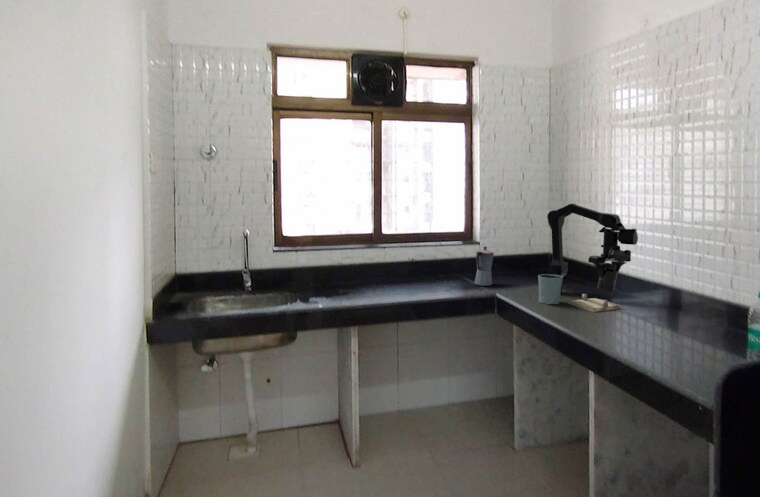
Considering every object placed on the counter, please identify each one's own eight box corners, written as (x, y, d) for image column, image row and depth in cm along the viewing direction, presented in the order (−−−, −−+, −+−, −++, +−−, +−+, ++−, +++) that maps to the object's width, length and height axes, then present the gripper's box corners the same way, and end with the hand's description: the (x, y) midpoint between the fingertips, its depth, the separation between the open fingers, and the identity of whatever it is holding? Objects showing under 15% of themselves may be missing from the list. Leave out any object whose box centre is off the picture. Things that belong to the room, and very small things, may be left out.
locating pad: (593, 311, 201) (593, 302, 201) (569, 304, 214) (570, 295, 214) (620, 308, 206) (620, 299, 205) (595, 301, 219) (595, 292, 218)
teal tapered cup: (532, 301, 220) (533, 274, 219) (550, 299, 224) (551, 273, 223) (548, 306, 211) (549, 278, 210) (566, 303, 215) (567, 276, 214)
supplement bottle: (615, 292, 215) (621, 265, 213) (598, 289, 216) (604, 263, 215) (611, 289, 222) (617, 263, 220) (595, 287, 223) (601, 261, 221)
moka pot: (497, 283, 261) (498, 245, 258) (487, 288, 248) (487, 249, 245) (480, 281, 266) (480, 244, 263) (469, 286, 253) (469, 248, 250)
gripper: (607, 246, 206) (605, 282, 208) (642, 244, 212) (639, 279, 214) (588, 243, 216) (586, 278, 218) (621, 241, 222) (619, 275, 224)
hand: (608, 277), depth 218 cm, fingers closed on supplement bottle, 7 cm apart
